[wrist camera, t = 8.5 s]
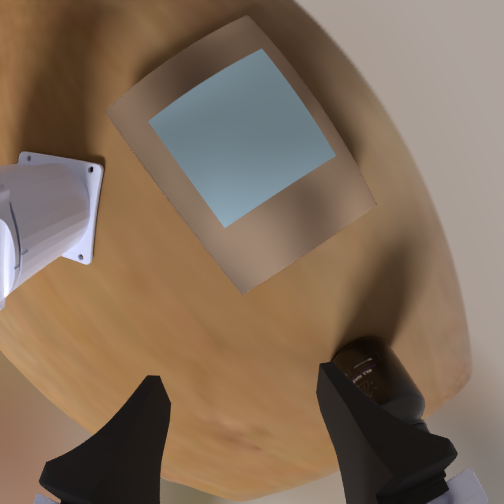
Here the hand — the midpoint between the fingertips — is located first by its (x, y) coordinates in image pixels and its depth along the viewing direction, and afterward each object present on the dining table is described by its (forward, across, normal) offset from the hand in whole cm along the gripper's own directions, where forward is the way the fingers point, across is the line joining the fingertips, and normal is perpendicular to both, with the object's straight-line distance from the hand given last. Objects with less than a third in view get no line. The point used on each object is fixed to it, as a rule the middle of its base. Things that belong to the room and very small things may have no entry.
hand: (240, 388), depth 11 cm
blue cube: (+6, -1, -10) cm, 12 cm away
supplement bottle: (+11, -11, +10) cm, 18 cm away
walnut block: (+10, -1, -10) cm, 14 cm away
